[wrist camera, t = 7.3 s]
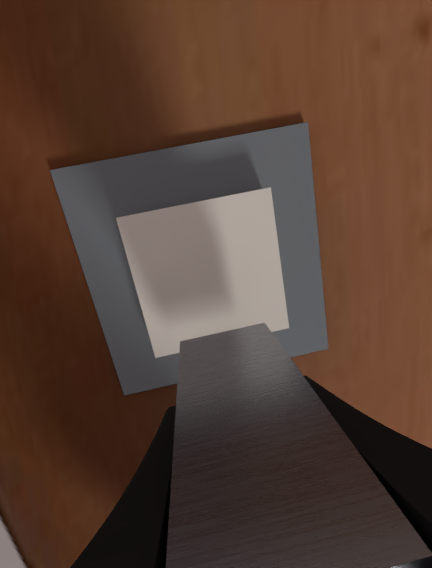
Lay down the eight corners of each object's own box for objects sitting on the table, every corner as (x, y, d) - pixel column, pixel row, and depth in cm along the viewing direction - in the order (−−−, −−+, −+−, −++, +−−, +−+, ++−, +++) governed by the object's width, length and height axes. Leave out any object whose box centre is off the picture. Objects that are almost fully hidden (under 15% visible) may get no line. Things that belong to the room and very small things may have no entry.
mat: (325, 345, 19) (328, 348, 19) (125, 391, 18) (124, 395, 18) (304, 124, 15) (307, 122, 15) (53, 171, 15) (50, 170, 14)
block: (276, 395, 14) (430, 707, 5) (197, 413, 13) (216, 773, 5) (264, 322, 13) (433, 555, 4) (180, 341, 12) (161, 630, 4)
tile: (289, 328, 16) (270, 187, 14) (155, 358, 16) (115, 217, 14) (280, 318, 18) (262, 189, 16) (158, 345, 17) (123, 217, 15)
